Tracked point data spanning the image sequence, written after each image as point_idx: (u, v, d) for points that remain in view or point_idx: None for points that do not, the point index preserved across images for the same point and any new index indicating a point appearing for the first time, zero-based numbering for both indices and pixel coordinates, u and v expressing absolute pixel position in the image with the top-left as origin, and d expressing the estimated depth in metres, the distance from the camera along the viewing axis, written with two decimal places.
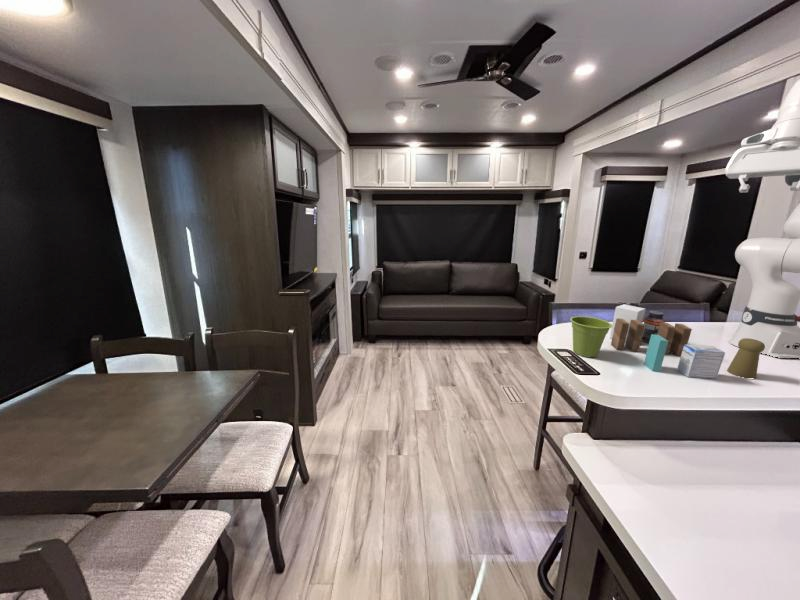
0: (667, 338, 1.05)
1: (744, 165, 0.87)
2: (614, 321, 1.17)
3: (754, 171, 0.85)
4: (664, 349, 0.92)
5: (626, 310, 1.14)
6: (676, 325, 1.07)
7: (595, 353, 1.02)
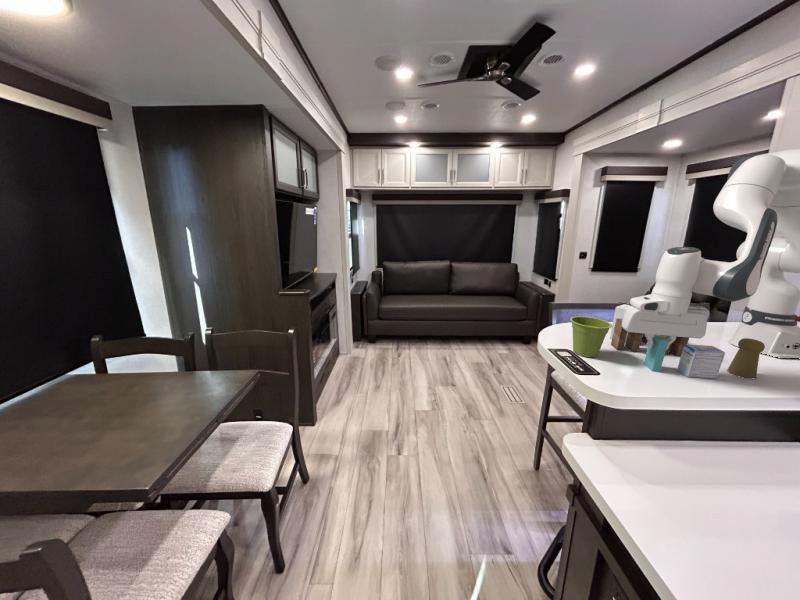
0: None
1: (641, 326, 0.93)
2: (614, 321, 1.17)
3: (649, 333, 0.93)
4: (664, 349, 0.92)
5: None
6: None
7: (595, 353, 1.02)
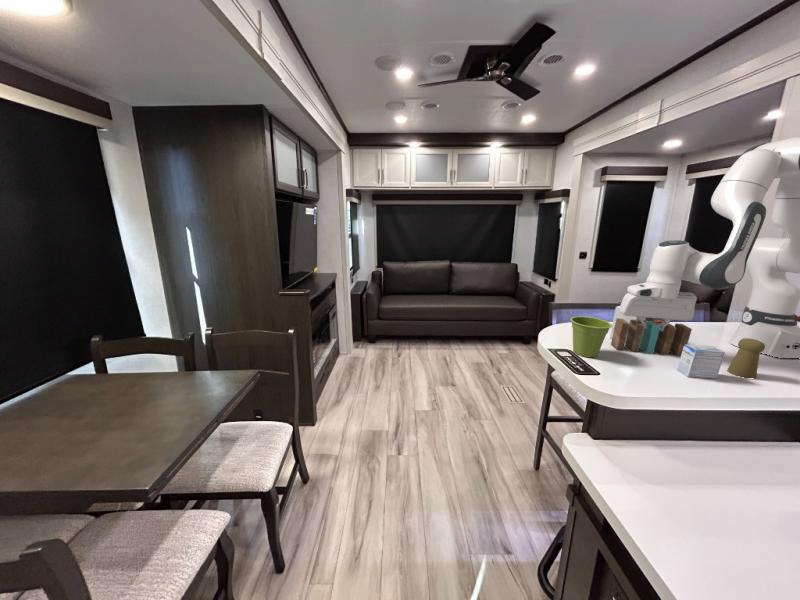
0: (667, 338, 1.05)
1: (637, 310, 1.05)
2: (614, 321, 1.17)
3: (644, 316, 1.05)
4: (657, 333, 1.05)
5: None
6: (676, 325, 1.07)
7: (595, 353, 1.02)
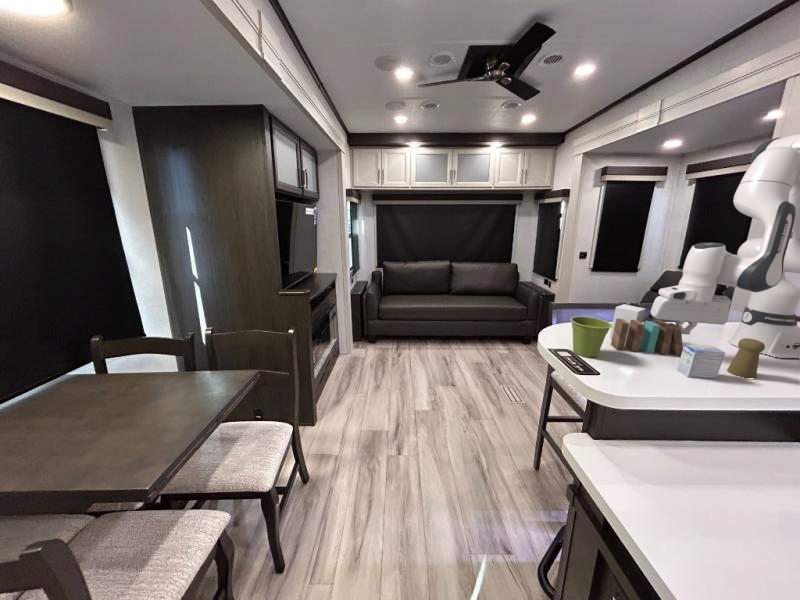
0: (666, 338, 1.05)
1: (670, 314, 1.03)
2: (614, 321, 1.17)
3: (677, 320, 1.03)
4: (657, 333, 1.05)
5: (626, 310, 1.14)
6: None
7: (595, 353, 1.02)
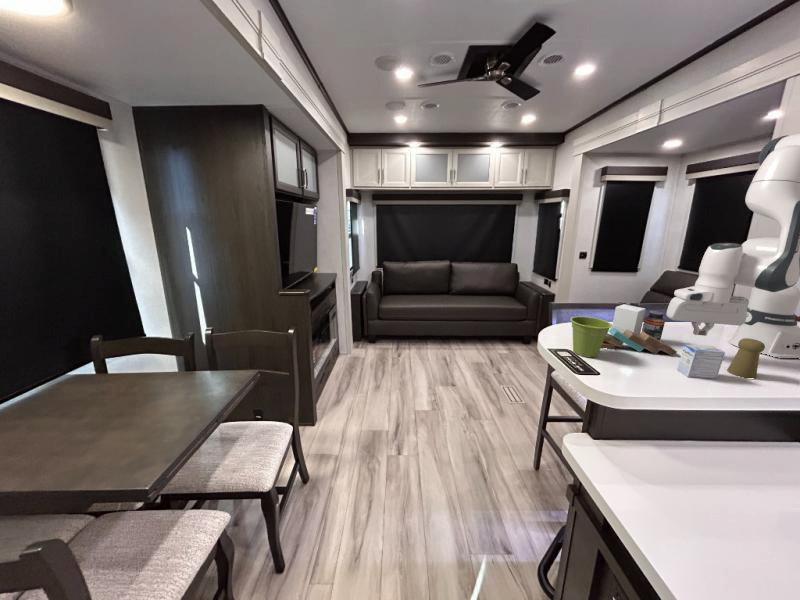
0: (640, 343, 1.07)
1: (686, 315, 1.02)
2: (614, 321, 1.17)
3: (693, 321, 1.03)
4: (623, 336, 1.08)
5: (626, 310, 1.14)
6: None
7: (595, 353, 1.02)
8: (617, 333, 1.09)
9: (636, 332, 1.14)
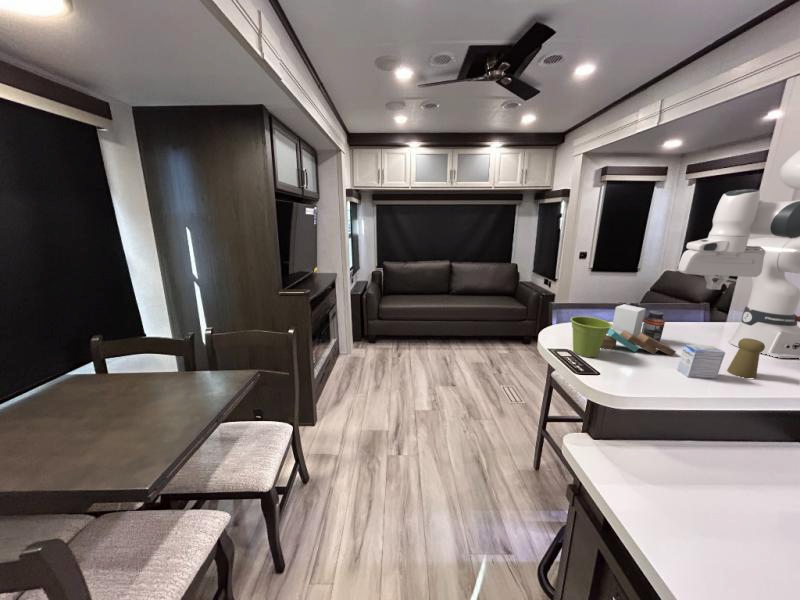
0: (639, 344, 1.06)
1: (699, 267, 0.98)
2: (614, 321, 1.17)
3: (707, 274, 0.98)
4: (620, 337, 1.07)
5: (626, 310, 1.14)
6: None
7: (595, 353, 1.02)
8: (615, 334, 1.07)
9: (636, 332, 1.14)
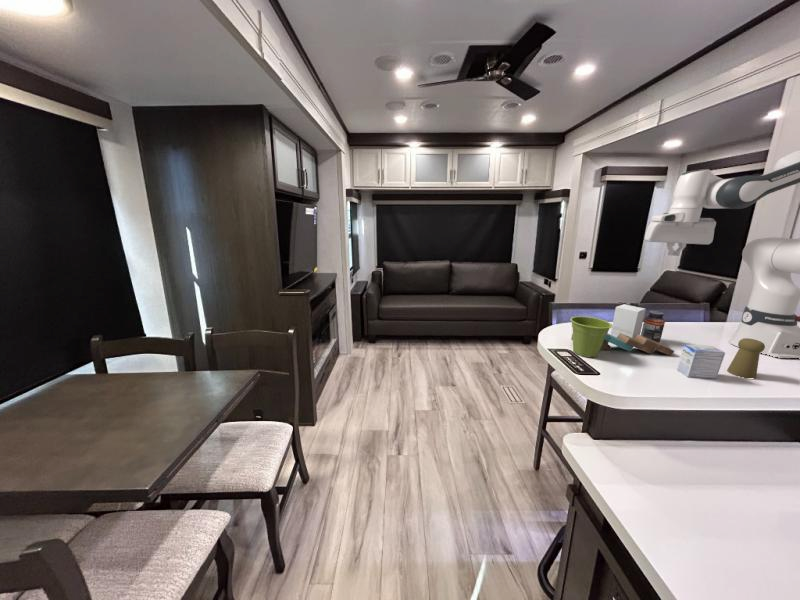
0: (637, 346, 1.06)
1: (661, 236, 1.16)
2: (614, 321, 1.17)
3: (668, 242, 1.16)
4: (616, 340, 1.06)
5: (626, 310, 1.14)
6: None
7: (595, 353, 1.02)
8: (612, 338, 1.06)
9: (636, 332, 1.14)
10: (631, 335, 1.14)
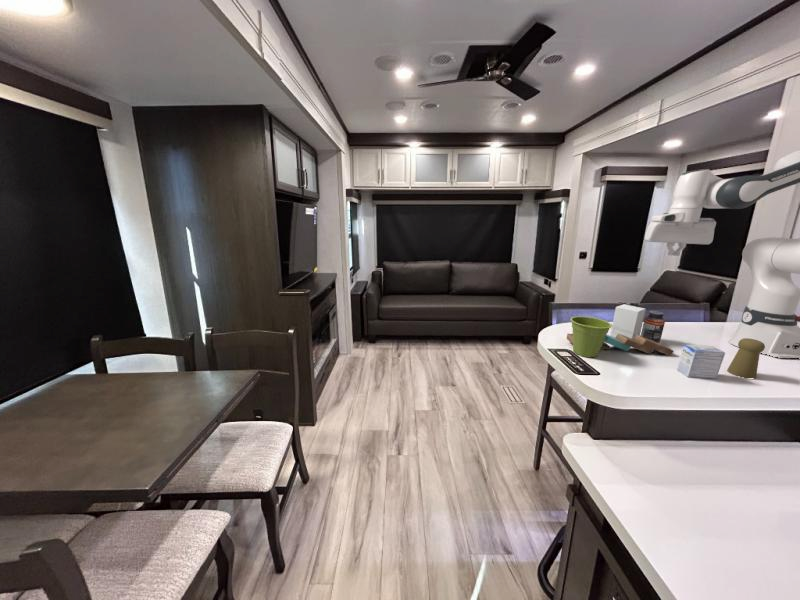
0: (635, 346, 1.06)
1: (661, 236, 1.16)
2: (614, 321, 1.17)
3: (668, 242, 1.16)
4: (613, 340, 1.06)
5: (626, 310, 1.14)
6: (636, 340, 1.10)
7: (595, 353, 1.02)
8: (609, 338, 1.06)
9: (636, 332, 1.14)
10: (631, 335, 1.14)
